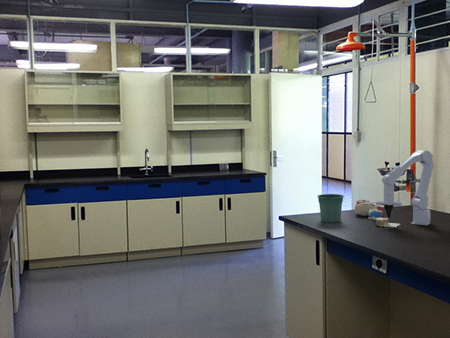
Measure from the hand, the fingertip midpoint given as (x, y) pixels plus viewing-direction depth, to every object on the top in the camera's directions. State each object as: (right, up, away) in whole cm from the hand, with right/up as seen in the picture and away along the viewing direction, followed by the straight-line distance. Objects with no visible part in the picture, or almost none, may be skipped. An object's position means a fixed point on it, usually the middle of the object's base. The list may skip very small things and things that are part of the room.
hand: (388, 217), depth 300 cm
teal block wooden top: (0, -3, 0) cm, 3 cm away
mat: (+1, -5, 0) cm, 5 cm away
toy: (-3, -3, +27) cm, 27 cm away
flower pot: (-31, -4, +18) cm, 36 cm away
